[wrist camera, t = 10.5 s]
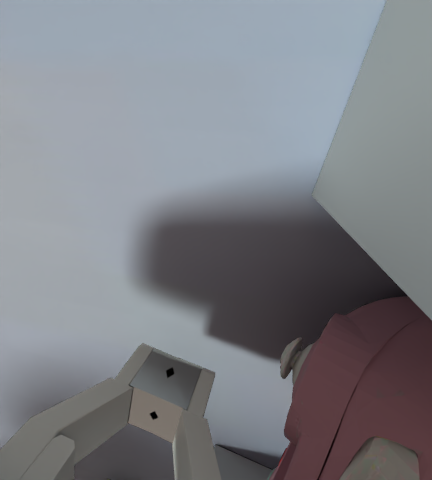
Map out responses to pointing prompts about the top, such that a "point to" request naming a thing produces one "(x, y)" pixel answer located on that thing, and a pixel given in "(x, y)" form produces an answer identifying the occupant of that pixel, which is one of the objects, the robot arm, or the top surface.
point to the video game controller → (361, 397)
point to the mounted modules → (381, 167)
